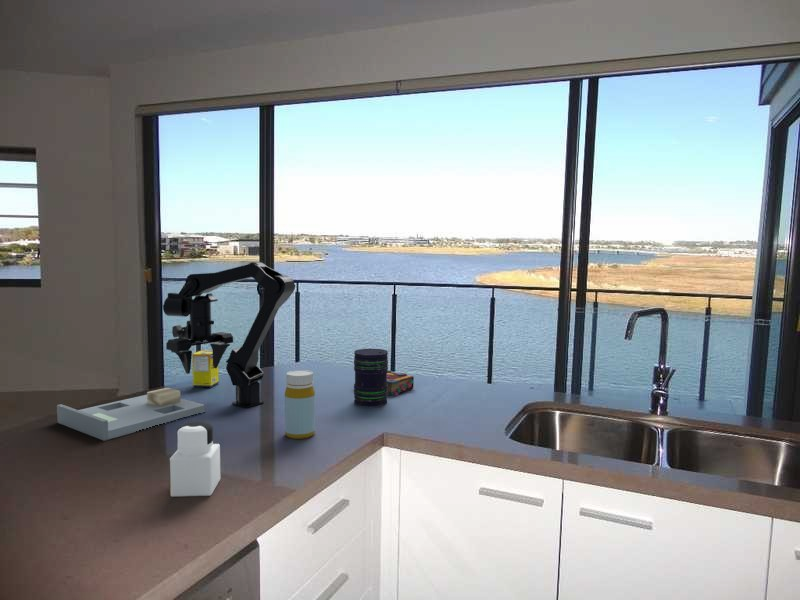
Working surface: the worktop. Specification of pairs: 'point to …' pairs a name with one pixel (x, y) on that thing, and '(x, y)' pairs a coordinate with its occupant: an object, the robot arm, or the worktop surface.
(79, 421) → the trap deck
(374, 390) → the storage jar
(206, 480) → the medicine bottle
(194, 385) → the supplement box
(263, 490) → the worktop surface
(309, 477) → the worktop surface
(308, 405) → the bottle
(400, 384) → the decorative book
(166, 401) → the beech block
